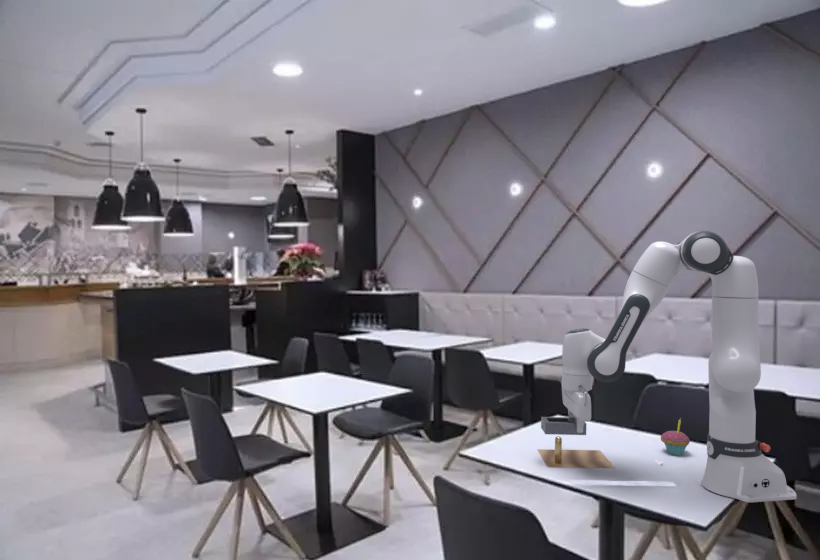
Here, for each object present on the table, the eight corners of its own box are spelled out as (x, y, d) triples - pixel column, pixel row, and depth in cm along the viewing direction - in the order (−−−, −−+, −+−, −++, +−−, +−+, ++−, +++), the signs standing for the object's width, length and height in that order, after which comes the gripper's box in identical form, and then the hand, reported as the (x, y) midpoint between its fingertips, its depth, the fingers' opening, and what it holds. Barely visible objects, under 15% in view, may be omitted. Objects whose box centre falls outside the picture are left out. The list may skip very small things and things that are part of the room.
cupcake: (695, 455, 184) (696, 418, 184) (675, 458, 181) (676, 421, 180) (674, 447, 192) (674, 412, 192) (654, 450, 189) (655, 414, 188)
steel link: (580, 428, 176) (580, 417, 176) (586, 435, 169) (586, 423, 169) (541, 427, 176) (541, 416, 176) (545, 434, 170) (545, 422, 169)
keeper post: (560, 461, 174) (561, 435, 174) (562, 463, 172) (562, 437, 172) (554, 461, 174) (554, 435, 174) (555, 463, 172) (555, 437, 172)
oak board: (599, 454, 184) (599, 450, 184) (615, 473, 168) (615, 468, 168) (537, 453, 185) (537, 449, 185) (547, 472, 169) (547, 467, 169)
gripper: (597, 390, 161) (596, 439, 162) (578, 375, 182) (577, 418, 182) (574, 390, 162) (574, 438, 162) (558, 375, 182) (558, 418, 183)
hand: (575, 428), depth 172 cm, fingers closed on steel link, 7 cm apart
